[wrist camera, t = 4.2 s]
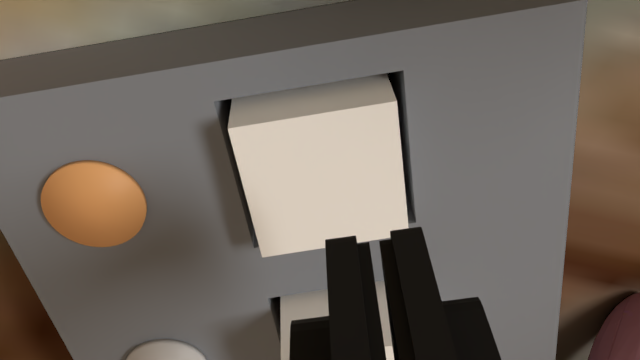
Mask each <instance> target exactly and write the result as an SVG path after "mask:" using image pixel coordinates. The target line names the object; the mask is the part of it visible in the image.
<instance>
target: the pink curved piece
mask: <svg viewBox="0 0 640 360" xmlns="http://www.w3.org/2000/svg"><path fill="white" fill-rule="evenodd" d="M588 360H640V293H635V294H633V295H631V296H629V297H627V298H626V299H624V300H623V301H622V302H621V303H619V304H618V305H617V306H616V307H615V308H614V310H613V311H612V312H611V313H610V314H609V316H608V317H607V318H606V320H605V321H604V323H603V325H602V327H601V329H600V331H599V333H598V334H597V336H596V338H595V340H594V343H593V346H592V349H591V352H590V355H589V357H588Z"/></svg>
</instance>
